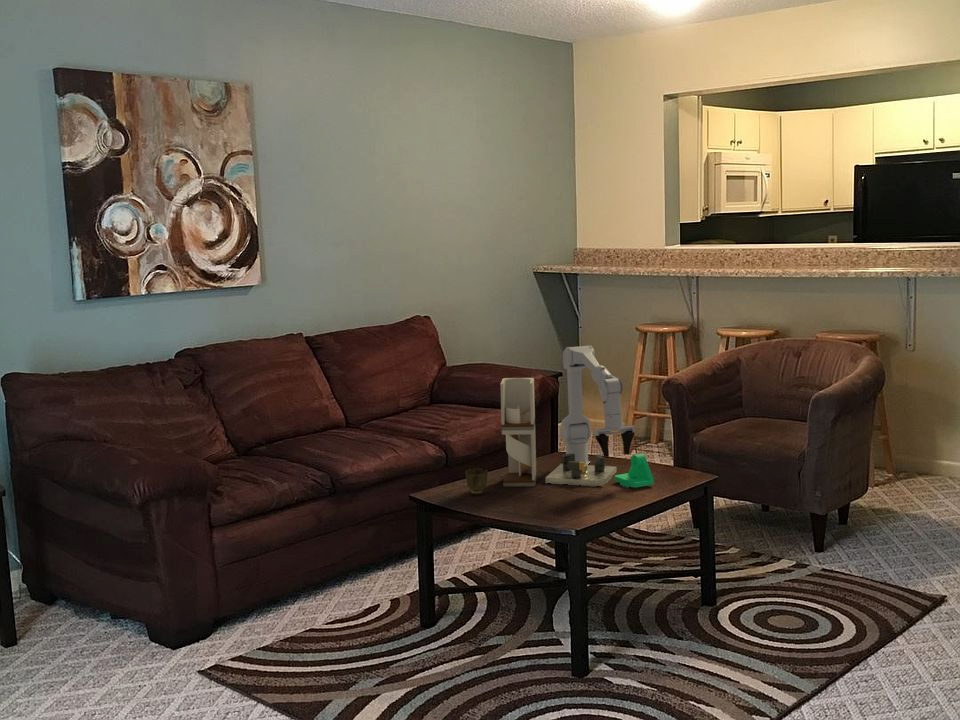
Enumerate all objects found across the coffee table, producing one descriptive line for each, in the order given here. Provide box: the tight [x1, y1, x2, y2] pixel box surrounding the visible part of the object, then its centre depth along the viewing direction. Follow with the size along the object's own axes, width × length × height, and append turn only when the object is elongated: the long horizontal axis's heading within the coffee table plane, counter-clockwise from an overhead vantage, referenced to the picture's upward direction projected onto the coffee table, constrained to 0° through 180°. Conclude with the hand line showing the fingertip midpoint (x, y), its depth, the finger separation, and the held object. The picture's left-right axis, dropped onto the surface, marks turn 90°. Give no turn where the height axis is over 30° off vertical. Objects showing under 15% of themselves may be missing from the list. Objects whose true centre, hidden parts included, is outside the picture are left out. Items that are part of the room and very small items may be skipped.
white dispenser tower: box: [499, 377, 537, 487], centre depth 360 cm, size 11×11×35 cm
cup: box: [464, 467, 489, 496], centre depth 348 cm, size 8×7×8 cm
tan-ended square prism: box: [568, 461, 585, 478], centre depth 358 cm, size 5×4×5 cm
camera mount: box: [614, 453, 655, 489], centre depth 353 cm, size 12×8×10 cm, turn 28°
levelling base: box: [544, 453, 618, 488], centre depth 365 cm, size 20×20×7 cm
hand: (616, 455), depth 351 cm, fingers open, 7 cm apart
